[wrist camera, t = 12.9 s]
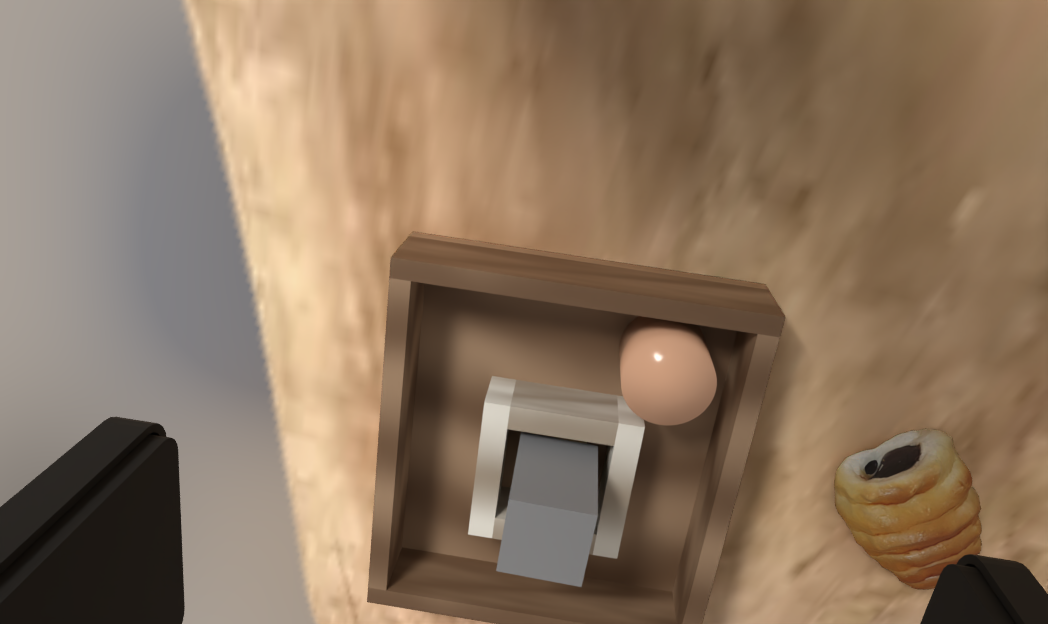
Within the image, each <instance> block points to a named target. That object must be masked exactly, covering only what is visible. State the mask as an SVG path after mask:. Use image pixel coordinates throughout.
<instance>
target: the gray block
mask: <svg viewBox="0 0 1048 624" xmlns="http://www.w3.org/2000/svg"><path fill="white" fill-rule="evenodd" d="M597 517H598V446H597V445H591V444H587V442H585V441H579V440H573V439H566V438H560V437H554V436H547V435H541V434H535V433H525V432H521V435H520V441H519V446H518V452H517V457H516V463H515V468H514V474H513V479H512V485H511V490H510V495H509V501H508V507H507V512H506V518H505V524H504V529H503V535H502V541H501V546H500V552H499V558H498V563H497V569H496V571H498V572H503V573H509V574H514V575H519V576H525V577H530V578H535V579H541V580H546V581H551V582H557V583H562V584H567V585H573V586H578V587H582V582H583V578H584V574H585V569H586V565H587V561H588V556H589V552H590V548H591V543H592V539H593V535H594V530H595V526H596V521H597Z"/></svg>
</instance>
